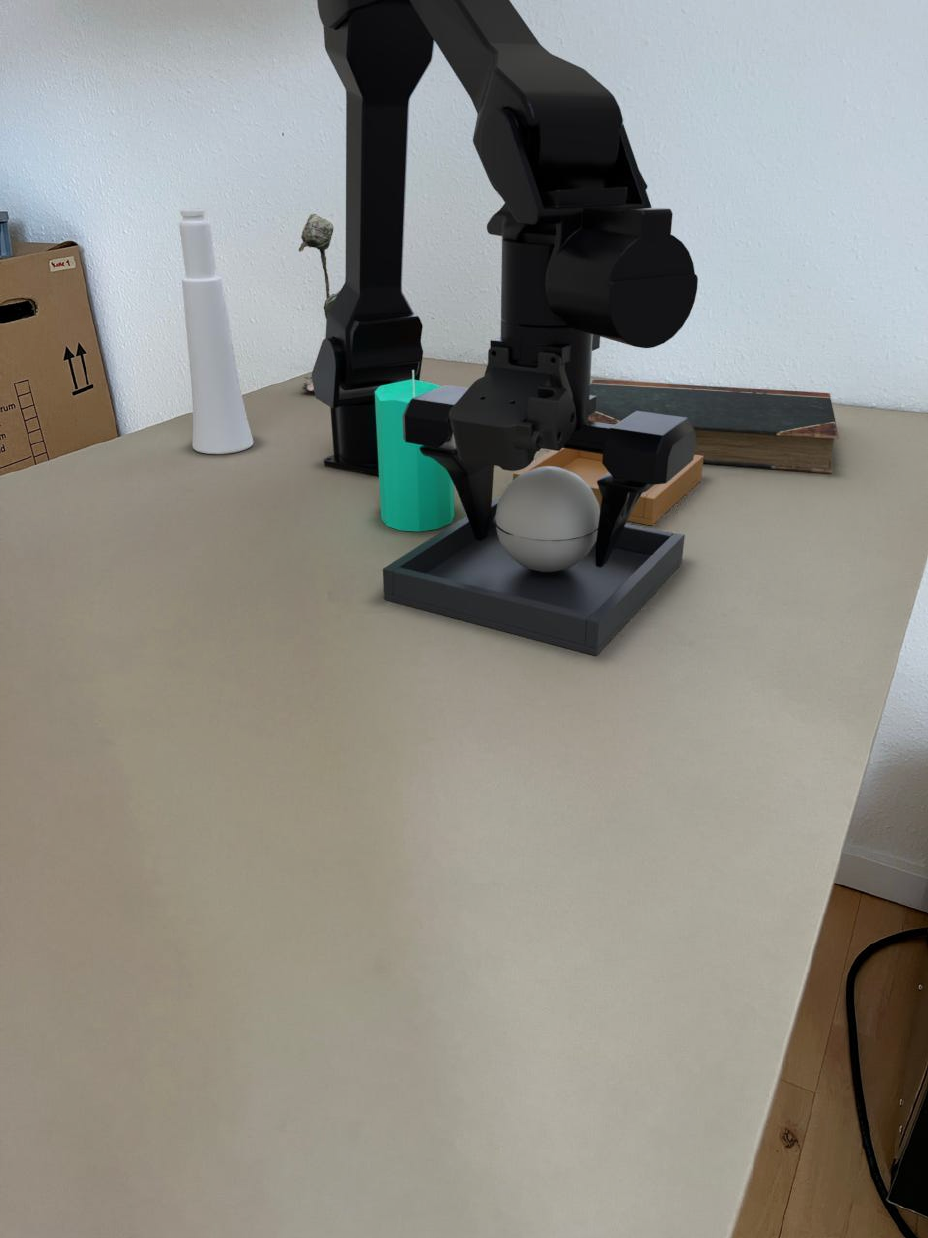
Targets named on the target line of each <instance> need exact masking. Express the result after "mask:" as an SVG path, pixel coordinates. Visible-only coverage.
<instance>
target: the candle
mask: <svg viewBox="0 0 928 1238" xmlns="http://www.w3.org/2000/svg"><path fill="white" fill-rule="evenodd" d="M442 386H443V385H438V384H435V383H432V382H428V381H424V380H414V370H412V379H411V380H406V381H401V382H396V383H391V384H386V385H382V386H379V387H378V389H377V390H376V391H375V407H376V427H377V446H378V465H379V474H378V481H379V482H378V483H379V498H380V499H379V500H380V515H381V516H380V519H381V521H382V522H383V524H384V525H385V526H386V527H389V528H392V529H395V530H399V531H404V532H405V531H406V532H407V531H408V532H426V531H432V530H439V529H441V528H443V527H445V526H449V525H450V524H452V522H453V520H454V518H455V485H454V483H453V481H452V479H451V477H450V475H449V473H448V472H447V470H446V469H445V468H444V467H443V466H442V465H440V464H439V463H438V462H437V461H435V460H434V459H433V458H431V457H428V456H424V455H423V454H422V453H421V451H420V449H419V448H420V447H421V446H423V445H420V444H414V443H408V442H405V440H404V439H403V418H402V416H403V413H404V411H405V408H406V406H407V404H408V403H409V402H410V400H411V399H412V398H415V397H417V396H420V395H422V394H425V393H427V392H429V391H432V390H434V389H437V388H439V387H442Z"/></svg>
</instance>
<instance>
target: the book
mask: <svg viewBox="0 0 928 1238" xmlns="http://www.w3.org/2000/svg"><path fill="white" fill-rule="evenodd" d="M590 395H592V396H597V400H596V411H595V412H594V413H592V414H590V415H589V416H588V421H593V422H600V423H607V424H614V425H615V424H617V423H618V422H620V421H621V420H623V419H625V418H626V417H628V416H629V415H631V414H632V413H634V412H636V411H641V412H649V413H656V414H663V415H671V416H678V417H686V418H688V420H689V421H690V423H691V425H692V426H693V428H694V431H695V434H696V439H695V448H694V455H701V456H704V459H703V464H709V465H721V466H732V467H733V466H734V467H745V468H756V469H757V468H758V469H759V468H760V469H770V470H783V471H784V470H785V471H797V472H808V473H820V474H832V473H833V463H832V462H833V461H832V452H833V451H832V450H833V445H834V441H835V440H839V438H840V436H839V431H838V427H837V421H836V416H835V412H834V411H835V410H834V407H833V402H832V397H831V393H829V392H818V391H804V390H803V391H802V390H789V389H788V390H786V389H769V388H768V389H767V388H765V389H764V388H749V387H731V386H716V385H715V386H714V385H713V386H712V385H695V384H679V383H665V382H664V383H663V382H650V381H649V382H648V381H632V380H630V381H629V380H617V379H616V380H615V379H614V380H613V379H594V378H593V379H592V381H591V382H590Z"/></svg>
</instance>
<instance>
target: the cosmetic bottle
mask: <svg viewBox="0 0 928 1238" xmlns="http://www.w3.org/2000/svg"><path fill="white" fill-rule="evenodd" d="M206 210H207V209H204V208H183V209H180V210H179V211H180V216H182V217H181V218H182V220H180V221H179V224H178V227H179V228H178V229H179V235H180V242H181V249H182V257H183V264H184V270H185V271H184V272H185V277H183V278H182V279H181V283H182V297H183V307H184V308H183V309H184V320H185V321H184V322H185V331H186V340H187V350H188V361H189V372H190V373H189V374H190V385H191V400H192V443H191V445H192V448H193V450H194V451H196V452H198V453H201V454H206V455H227V454H234V453H238V452H242V451H246V450H248V449H249V448H251V447H252V446H253V445H254V442H255V441H254V438H253V435H252V431H251V427H250V425H249V419H248V417H247V412H246V408H245V403H244V399H243V394H242V389H241V384H240V379H239V373H238V368H237V361H236V355H235V351H234V344H233V338H232V330H231V325H230V319H229V313H228V308H227V307H228V306H227V301H226V295H225V291H224V285H223V280H222V279H223V278H222V277H221V276H219V275H217V274H218V273H217V266H216V259H215V251H214V242H213V235H212V225H211V223H210V221H209V220H208V219H206V216H207V212H206Z"/></svg>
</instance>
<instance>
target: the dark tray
mask: <svg viewBox="0 0 928 1238" xmlns="http://www.w3.org/2000/svg"><path fill="white" fill-rule="evenodd" d="M499 500H500V498H499V497H494V498H492V510H491V520H490V525H489V531H488V536H487V538H485V539H484V540H482V541H478V540H476V539H475V536H474V534H473V531H472V528H471V526H470V523H469V520H468V518H467V515H466V516H463V517H462V518H461V519H459V520H458V521H456V522H454V523H453V524H451V525H450V526H448V527H447V528H445V529H443V530H442V531H440V532H439V533H437V534H435V535H434V536H433V537H431V538H429V539H428V540H426V541H424V542H423V543H421V544H420V545H418V546H417V547H415V548H414V549H411V550H410V551H409V552H407V553H406V554H404V555H403V556H401V557H399V558H398V559H395V560H394V561H393V562H391V563H390V564H388V565H386V566H385V567H383V568H382V581H383V582H382V583H383V584H382V585H383V594H384V595H383V599H384V600H386V601H390V602H393V603H396V604H401V605H404V606H408V607H412V608H415V609H419V610H423V611H428V612H431V613H434V614H437V615H441V616H446V617H449V618H453V619H457V620H461V621H464V622H468V623H472V624H476V625H479V626H482V627H486V628H489V629H490V628H491V629H495V630H498V631H502V632H505V633H509V634H512V635H516V636H521V637H524V638H528V639H531V640H535V641H540V642H542V643H547V644H550V645H553V646H554V645H555V646H559V647H561V648H566V649H570V650H573V651H576V652H580V653H584V654H588V655H592V656H598V655H599V654H600V653H601V652H602V651H603V650H604V648H606V646H607V645H609V643H610V642H611V641H612V640H613V639H614V637H616V636H617V634H618V633H619V632H620V631H621V630H622V629H623V628H624V627H625V626H626V624H627V623H628V622H630V620H632V618H633V617H634V616H635V615H636V614H637V613H638V612H639V611H640V609H641V608H643V606H644V605H645V604H646V603H647V602H648V601H649V600H650V599H651V598H652V596H653V595H654V594H655V593H656V592H657V591H658V590H659V589H660V588H661V587H662V585H663V584H665V583H666V581H667V580H668V579H669V578H670V577H671V576H672V575H673V574H674V572H676V571H677V569H679V567H680V566H681V565H682V563H683V555H684V548H685V547H684V546H685V538H686V535H685V534H684V533H683V534H682V533H677V532H671V531H665V530H662V529H656V528H652V527H651V528H650V527H645V526H642V525H641V526H640V525H636V524H630V523H626V524H625V526H624V528H623V530H622V532H621V534H620V536H619V538H618V540H617V542H616V544H615V547H614V549H613V551H612V553H611V555H610V557H609V559H608V561H607V563H606V564H605V565H604V566H603V567H597V566H596V560H595V547H596V542H595V544H594V545H593V547H592V548H591V550H590V552H589V553H588V554H587V555H586V556H585V557H584V558H583V559H582V560H580V561H579V562H578V563H576V564H575V565H574V566H572V567H570V568H568V569H565V570H560V571H555V572H540V571H535V570H531V569H528V568H525V567H523V566H521V565H520V564H519V563H518V562H516V561H515V560H514V559H513V558H512V557H511V556H509V555H508V554H507V553H506V551H505V549H504V548H503V546H502V544H501V542H500V540H499V538H498V535H497V529H496V526H495V524H494V522H493V519H494V516H495V515H496V510H497V504H498V502H499Z"/></svg>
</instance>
